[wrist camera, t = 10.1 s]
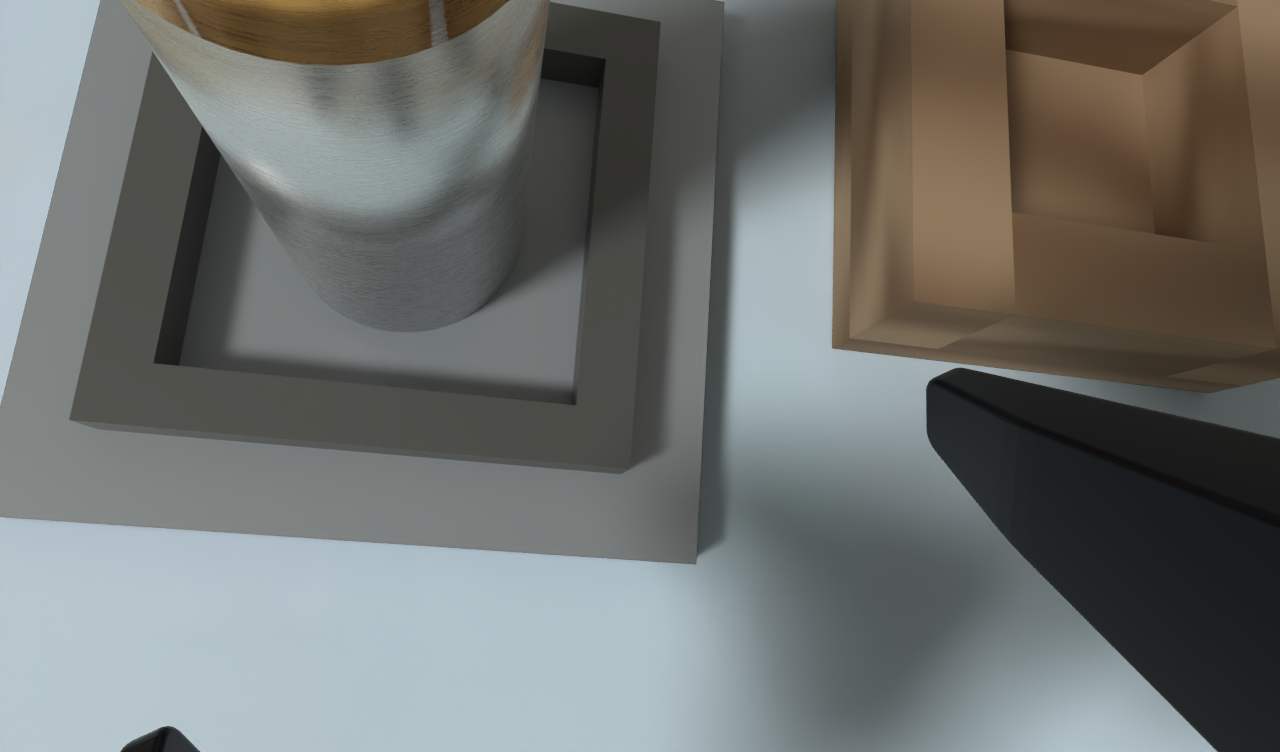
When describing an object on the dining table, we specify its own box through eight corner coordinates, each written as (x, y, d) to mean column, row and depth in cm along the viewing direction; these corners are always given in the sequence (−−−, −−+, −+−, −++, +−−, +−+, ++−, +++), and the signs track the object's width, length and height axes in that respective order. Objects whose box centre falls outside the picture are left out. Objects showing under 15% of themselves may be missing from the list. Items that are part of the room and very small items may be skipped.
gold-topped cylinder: (545, 304, 18) (656, -124, 7) (313, 355, 17) (-48, -57, 5) (491, 104, 19) (504, -597, 7) (266, 139, 18) (-142, -627, 6)
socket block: (1209, 392, 22) (1362, 359, 18) (832, 348, 20) (913, 300, 16) (1177, 39, 25) (1305, -56, 21) (837, -30, 23) (909, -148, 19)
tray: (685, 563, 18) (711, 565, 16) (3, 517, 16) (-69, 512, 14) (713, 26, 22) (737, -30, 19) (145, -78, 19) (103, -156, 17)
